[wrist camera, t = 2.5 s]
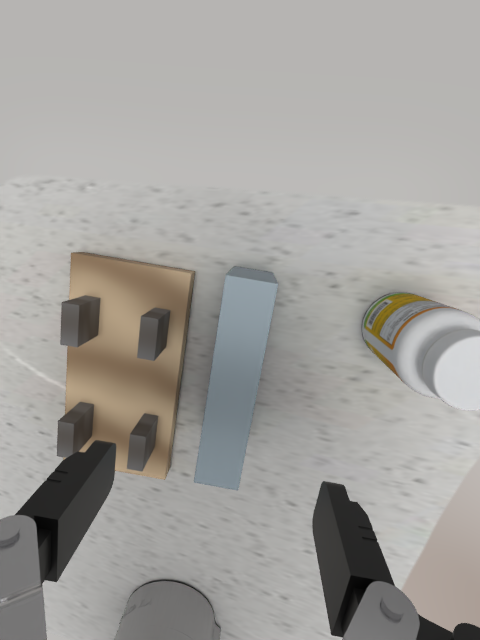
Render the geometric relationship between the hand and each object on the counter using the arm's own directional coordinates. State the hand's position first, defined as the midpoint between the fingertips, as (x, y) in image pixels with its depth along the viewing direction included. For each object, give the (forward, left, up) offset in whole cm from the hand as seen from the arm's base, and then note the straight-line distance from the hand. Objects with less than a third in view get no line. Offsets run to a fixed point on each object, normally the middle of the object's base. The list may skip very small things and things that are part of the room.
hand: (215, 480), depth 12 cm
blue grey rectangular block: (0, 0, -15) cm, 15 cm away
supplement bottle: (-6, -11, -15) cm, 19 cm away
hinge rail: (+5, +8, -15) cm, 17 cm away
